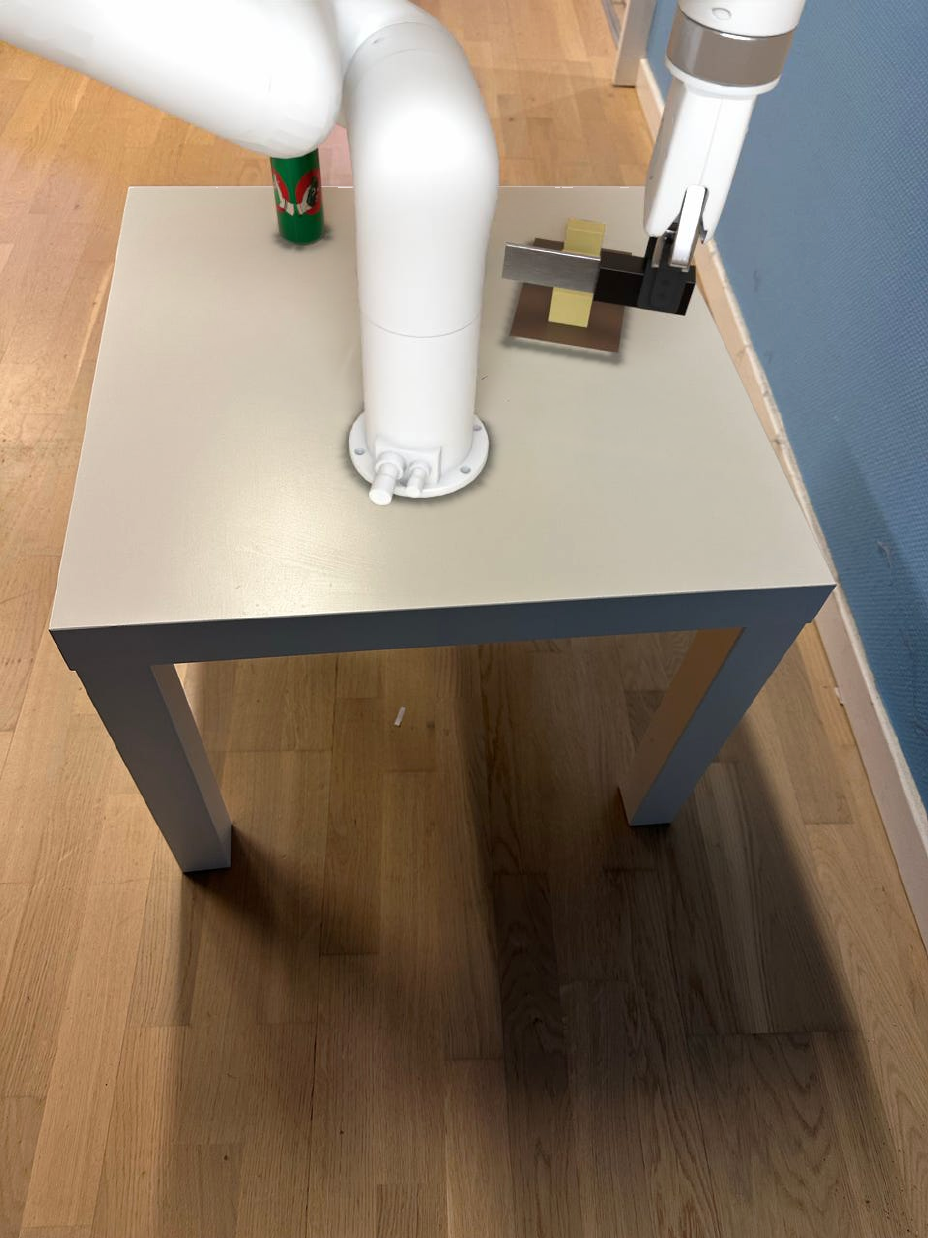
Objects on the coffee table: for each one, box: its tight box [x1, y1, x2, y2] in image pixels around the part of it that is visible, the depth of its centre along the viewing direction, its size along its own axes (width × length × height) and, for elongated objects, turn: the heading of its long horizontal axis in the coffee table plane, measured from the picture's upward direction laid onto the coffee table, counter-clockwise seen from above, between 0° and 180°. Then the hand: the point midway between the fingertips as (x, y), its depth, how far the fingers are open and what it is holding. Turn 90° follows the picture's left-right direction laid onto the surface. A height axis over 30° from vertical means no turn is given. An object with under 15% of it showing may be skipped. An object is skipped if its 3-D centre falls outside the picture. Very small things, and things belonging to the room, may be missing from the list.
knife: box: [501, 241, 697, 317], centre depth 71 cm, size 15×2×3 cm, turn 81°
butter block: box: [548, 250, 600, 327], centre depth 92 cm, size 8×4×4 cm, turn 169°
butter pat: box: [563, 217, 606, 255], centre depth 97 cm, size 2×4×4 cm, turn 79°
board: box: [509, 237, 633, 354], centre depth 95 cm, size 18×11×1 cm, turn 169°
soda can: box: [269, 147, 326, 246], centre depth 95 cm, size 5×5×12 cm
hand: (657, 295), depth 71 cm, fingers closed on knife, 2 cm apart
